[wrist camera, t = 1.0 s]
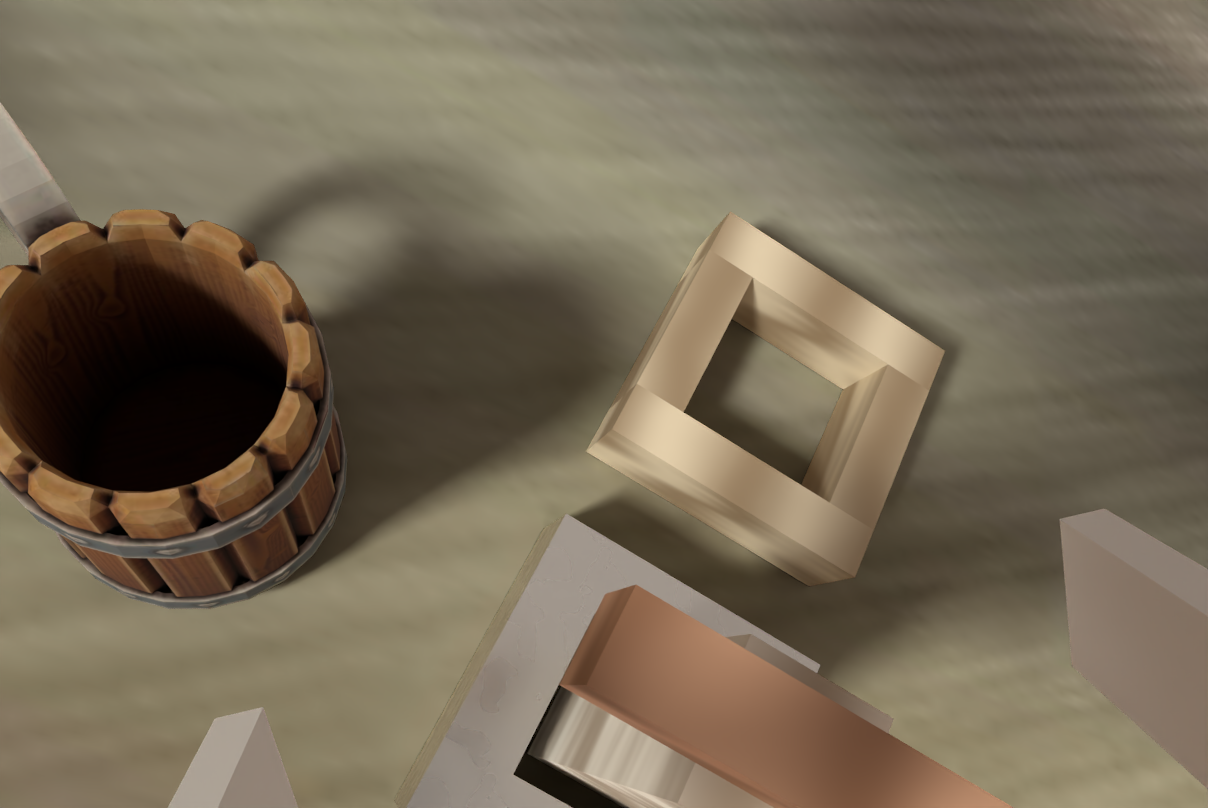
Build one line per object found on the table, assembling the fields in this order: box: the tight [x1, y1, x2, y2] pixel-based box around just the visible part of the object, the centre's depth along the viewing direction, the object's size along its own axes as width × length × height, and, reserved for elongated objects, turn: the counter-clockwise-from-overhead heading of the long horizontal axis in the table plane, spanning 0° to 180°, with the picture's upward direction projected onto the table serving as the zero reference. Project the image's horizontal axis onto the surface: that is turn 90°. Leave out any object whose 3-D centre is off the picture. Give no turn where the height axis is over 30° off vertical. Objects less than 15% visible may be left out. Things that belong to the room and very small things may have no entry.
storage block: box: [586, 212, 945, 586], centre depth 43 cm, size 12×12×4 cm
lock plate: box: [394, 514, 820, 808], centre depth 37 cm, size 12×12×4 cm
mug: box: [0, 103, 347, 609], centre depth 31 cm, size 16×11×15 cm
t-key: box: [527, 585, 1013, 808], centre depth 30 cm, size 12×4×19 cm, turn 62°
